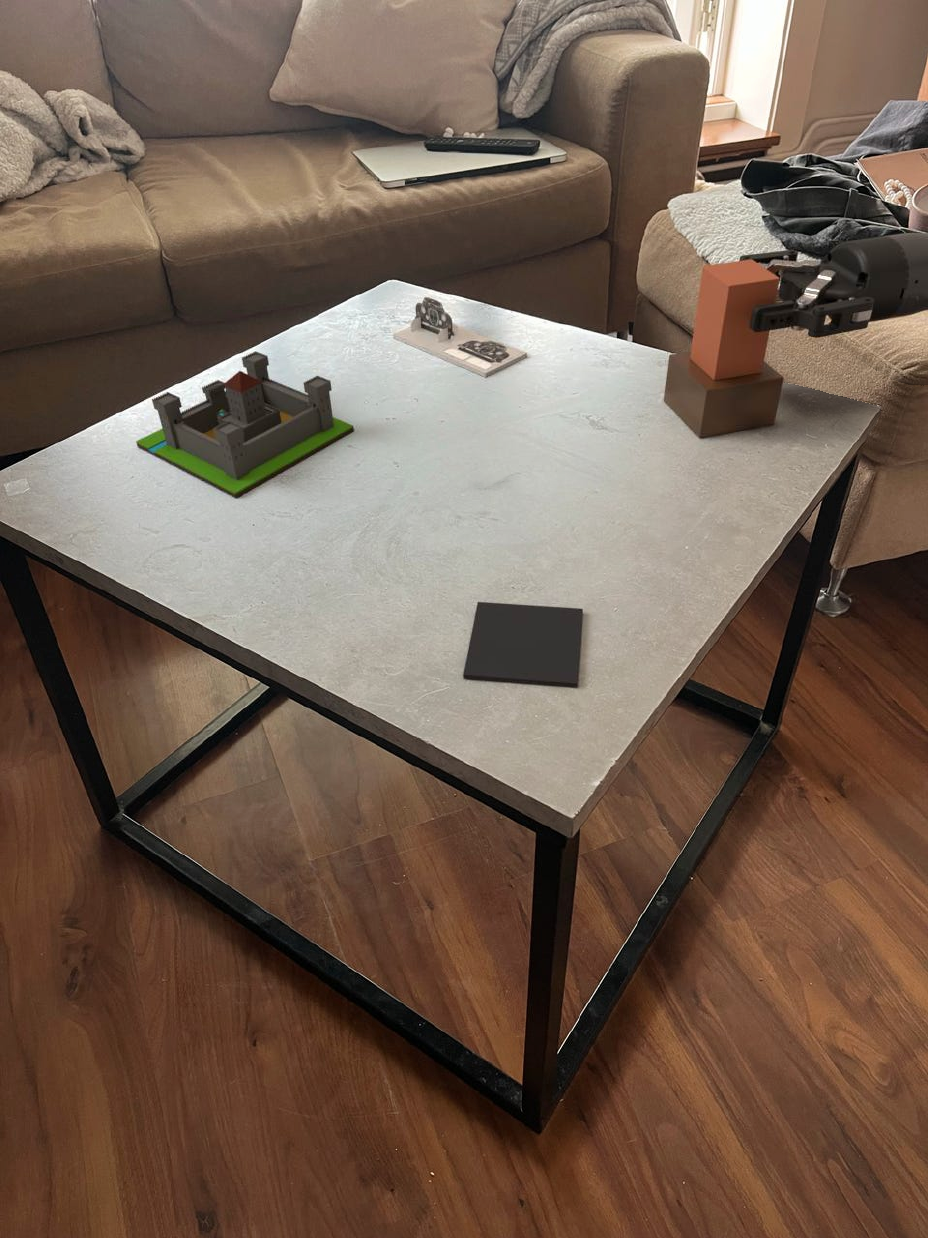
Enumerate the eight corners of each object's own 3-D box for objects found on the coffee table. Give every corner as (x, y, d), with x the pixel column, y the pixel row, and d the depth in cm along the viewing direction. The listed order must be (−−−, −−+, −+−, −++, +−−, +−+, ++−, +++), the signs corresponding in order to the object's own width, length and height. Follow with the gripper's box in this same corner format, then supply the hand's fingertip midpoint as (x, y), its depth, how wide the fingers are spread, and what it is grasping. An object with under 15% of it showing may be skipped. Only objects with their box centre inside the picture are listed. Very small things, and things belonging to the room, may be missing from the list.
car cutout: (393, 337, 108) (389, 300, 105) (434, 320, 111) (432, 282, 108) (485, 377, 100) (484, 337, 97) (526, 356, 103) (527, 317, 100)
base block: (734, 388, 96) (742, 342, 93) (774, 424, 90) (784, 377, 87) (663, 400, 94) (668, 354, 91) (699, 438, 89) (706, 390, 85)
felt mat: (582, 612, 70) (582, 608, 70) (577, 687, 64) (577, 683, 64) (477, 605, 71) (477, 601, 71) (463, 678, 65) (463, 674, 65)
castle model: (236, 498, 83) (219, 424, 78) (137, 446, 91) (116, 376, 86) (353, 430, 92) (345, 360, 87) (254, 388, 99) (241, 321, 94)
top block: (735, 350, 91) (751, 258, 85) (761, 372, 88) (780, 278, 82) (689, 358, 90) (702, 265, 84) (713, 380, 87) (728, 285, 81)
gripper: (850, 214, 90) (699, 234, 87) (946, 264, 80) (777, 289, 77) (832, 290, 95) (688, 311, 92) (920, 346, 85) (761, 373, 82)
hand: (729, 301), depth 85 cm, fingers open, 8 cm apart
